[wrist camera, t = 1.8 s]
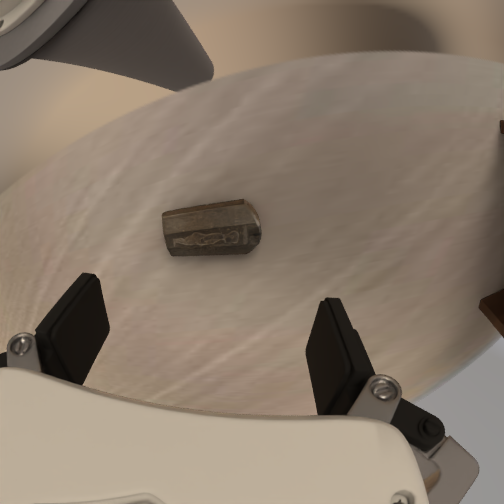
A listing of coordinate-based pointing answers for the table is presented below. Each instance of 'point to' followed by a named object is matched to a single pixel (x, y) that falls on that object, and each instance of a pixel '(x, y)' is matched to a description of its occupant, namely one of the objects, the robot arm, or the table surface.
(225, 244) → the block
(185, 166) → the table surface
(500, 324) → the shelf
